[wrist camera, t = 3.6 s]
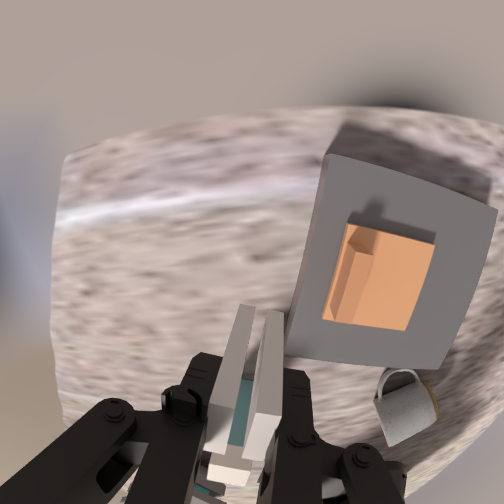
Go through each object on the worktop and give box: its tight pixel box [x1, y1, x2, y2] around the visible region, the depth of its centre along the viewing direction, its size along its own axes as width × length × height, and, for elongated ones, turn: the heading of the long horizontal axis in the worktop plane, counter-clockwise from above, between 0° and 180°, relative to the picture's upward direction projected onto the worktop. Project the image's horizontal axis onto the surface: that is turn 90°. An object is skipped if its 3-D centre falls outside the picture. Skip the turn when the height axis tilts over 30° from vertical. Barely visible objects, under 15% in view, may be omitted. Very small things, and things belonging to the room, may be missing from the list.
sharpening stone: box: [121, 464, 227, 504], centre depth 39 cm, size 25×8×11 cm, turn 135°
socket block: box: [283, 153, 498, 370], centre depth 27 cm, size 20×20×4 cm
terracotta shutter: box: [322, 223, 435, 331], centre depth 23 cm, size 9×9×4 cm
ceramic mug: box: [373, 368, 439, 447], centre depth 30 cm, size 11×8×8 cm
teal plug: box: [207, 379, 254, 487], centre depth 29 cm, size 4×4×14 cm
